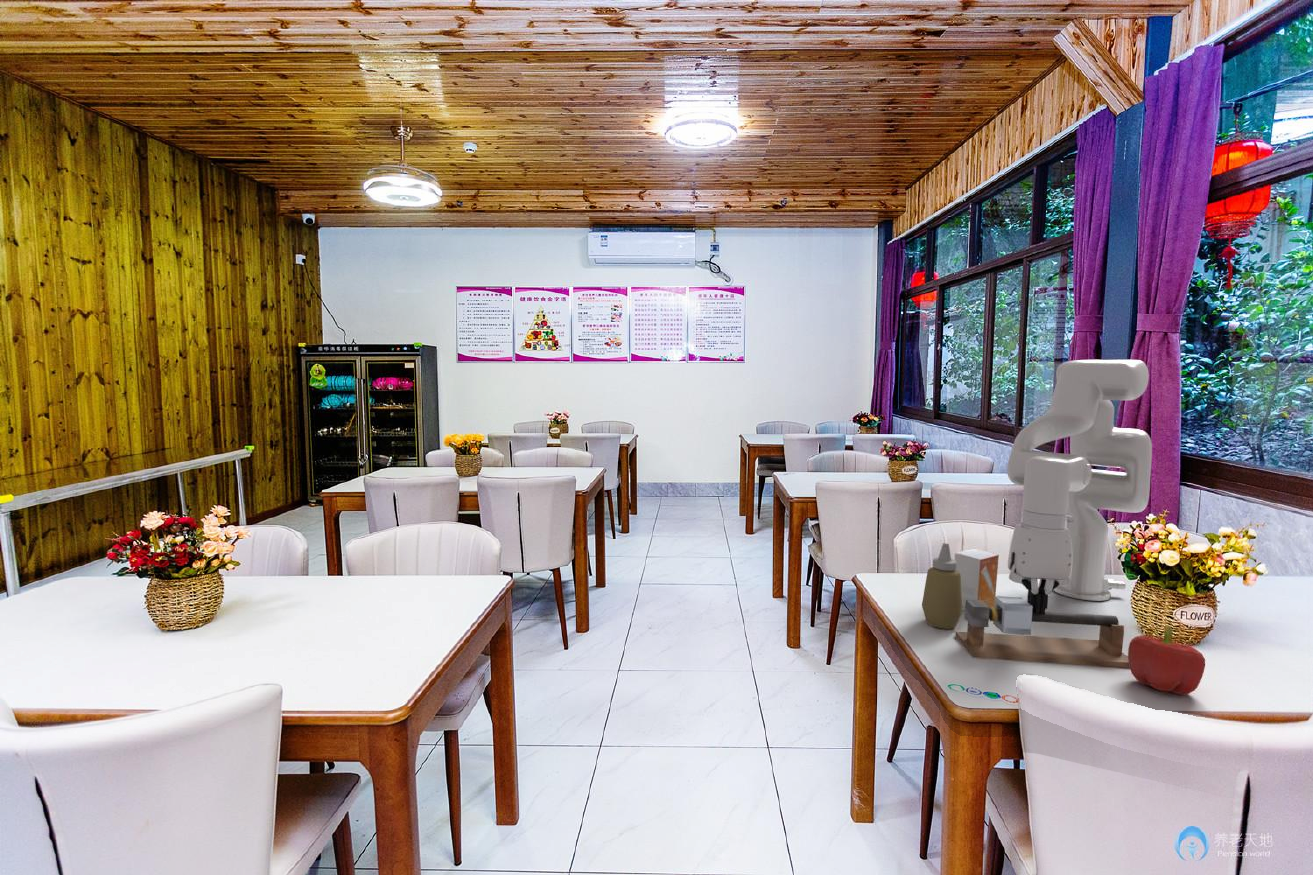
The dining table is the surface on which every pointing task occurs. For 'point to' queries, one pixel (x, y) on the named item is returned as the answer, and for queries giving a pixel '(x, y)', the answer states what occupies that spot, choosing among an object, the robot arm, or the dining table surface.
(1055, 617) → the rod stand
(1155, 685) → the vegetable
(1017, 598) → the sleeve
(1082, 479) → the robot arm
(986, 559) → the small box
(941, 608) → the squeeze bottle
